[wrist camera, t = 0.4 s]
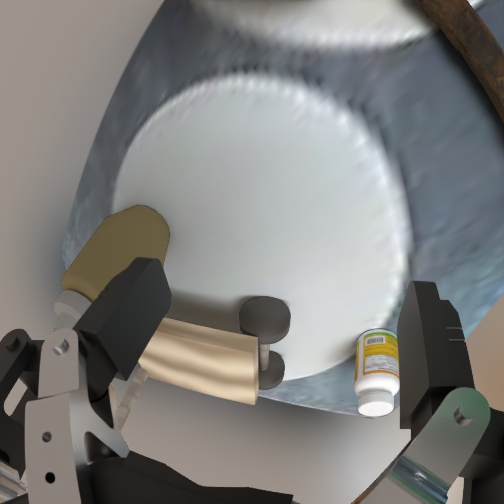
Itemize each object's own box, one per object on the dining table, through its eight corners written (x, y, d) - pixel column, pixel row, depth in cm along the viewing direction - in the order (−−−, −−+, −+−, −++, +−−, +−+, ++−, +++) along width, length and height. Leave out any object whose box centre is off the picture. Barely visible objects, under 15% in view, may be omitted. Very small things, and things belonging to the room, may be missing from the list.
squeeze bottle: (121, 244, 37) (35, 356, 23) (115, 188, 32) (1, 304, 18) (179, 263, 36) (101, 395, 23) (180, 205, 31) (75, 348, 18)
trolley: (129, 270, 40) (39, 407, 23) (294, 299, 35) (244, 494, 19) (152, 330, 48) (91, 447, 31) (287, 360, 43) (249, 505, 27)
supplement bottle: (378, 357, 38) (376, 422, 31) (348, 343, 38) (342, 411, 31) (406, 337, 35) (409, 407, 28) (375, 321, 34) (375, 394, 27)
